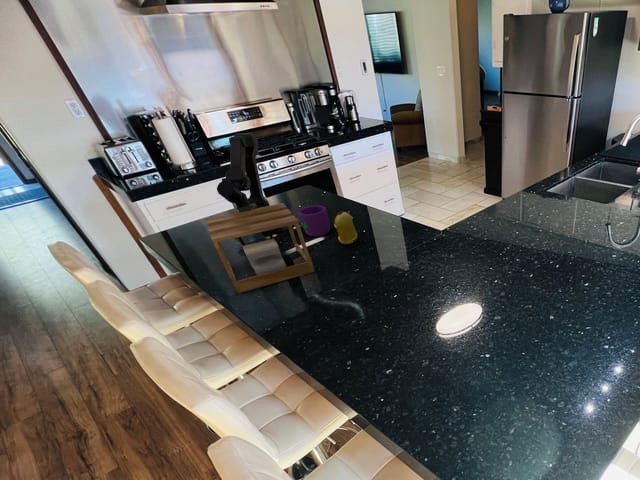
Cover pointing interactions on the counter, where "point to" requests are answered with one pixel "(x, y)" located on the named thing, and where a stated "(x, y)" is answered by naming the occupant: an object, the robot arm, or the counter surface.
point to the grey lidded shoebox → (264, 256)
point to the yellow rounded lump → (345, 228)
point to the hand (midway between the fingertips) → (259, 245)
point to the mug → (314, 220)
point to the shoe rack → (256, 223)
